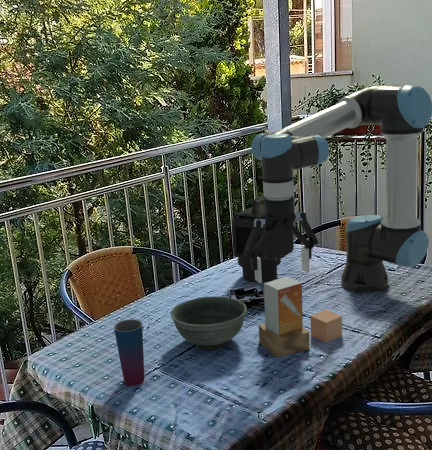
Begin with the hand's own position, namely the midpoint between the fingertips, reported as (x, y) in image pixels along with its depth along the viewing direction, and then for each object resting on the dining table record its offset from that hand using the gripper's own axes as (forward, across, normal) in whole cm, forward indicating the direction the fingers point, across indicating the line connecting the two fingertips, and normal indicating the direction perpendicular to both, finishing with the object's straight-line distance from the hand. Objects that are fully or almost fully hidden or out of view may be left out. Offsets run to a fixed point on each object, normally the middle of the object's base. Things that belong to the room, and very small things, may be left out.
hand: (282, 276), depth 153 cm
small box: (+15, 0, 0) cm, 15 cm away
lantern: (+20, -15, -49) cm, 55 cm away
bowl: (+20, +18, -11) cm, 29 cm away
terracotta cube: (+20, -12, 0) cm, 24 cm away
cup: (+19, +42, 0) cm, 46 cm away
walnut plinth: (+20, +1, 0) cm, 20 cm away
